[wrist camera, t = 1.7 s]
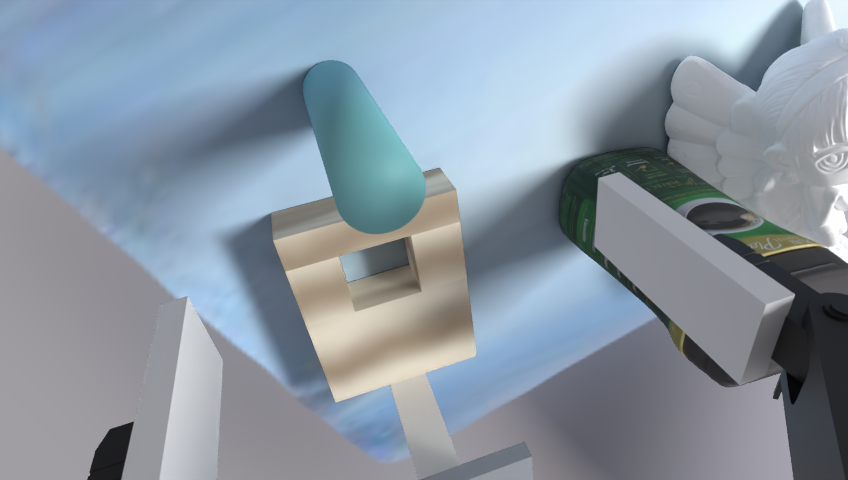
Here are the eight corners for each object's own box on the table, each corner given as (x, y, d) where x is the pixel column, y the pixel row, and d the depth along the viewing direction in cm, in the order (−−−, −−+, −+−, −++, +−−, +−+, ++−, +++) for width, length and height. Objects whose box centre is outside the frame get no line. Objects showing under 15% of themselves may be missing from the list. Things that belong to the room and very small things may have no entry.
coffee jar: (549, 242, 43) (712, 422, 28) (559, 155, 38) (759, 312, 23) (649, 221, 45) (850, 378, 30) (669, 136, 40) (918, 270, 25)
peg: (294, 67, 30) (324, 165, 18) (354, 54, 30) (418, 140, 19) (311, 125, 32) (347, 244, 21) (367, 111, 32) (431, 220, 21)
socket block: (270, 213, 34) (273, 240, 31) (439, 167, 36) (456, 189, 33) (330, 370, 43) (335, 402, 41) (462, 327, 45) (476, 355, 42)
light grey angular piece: (326, 325, 41) (363, 518, 28) (444, 288, 42) (532, 456, 29) (346, 381, 45) (387, 573, 32) (454, 346, 46) (534, 516, 33)
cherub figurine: (744, 336, 40) (815, 114, 26) (647, 238, 49) (663, 37, 35) (893, 274, 40) (1037, 26, 27) (769, 189, 49) (830, -28, 36)
